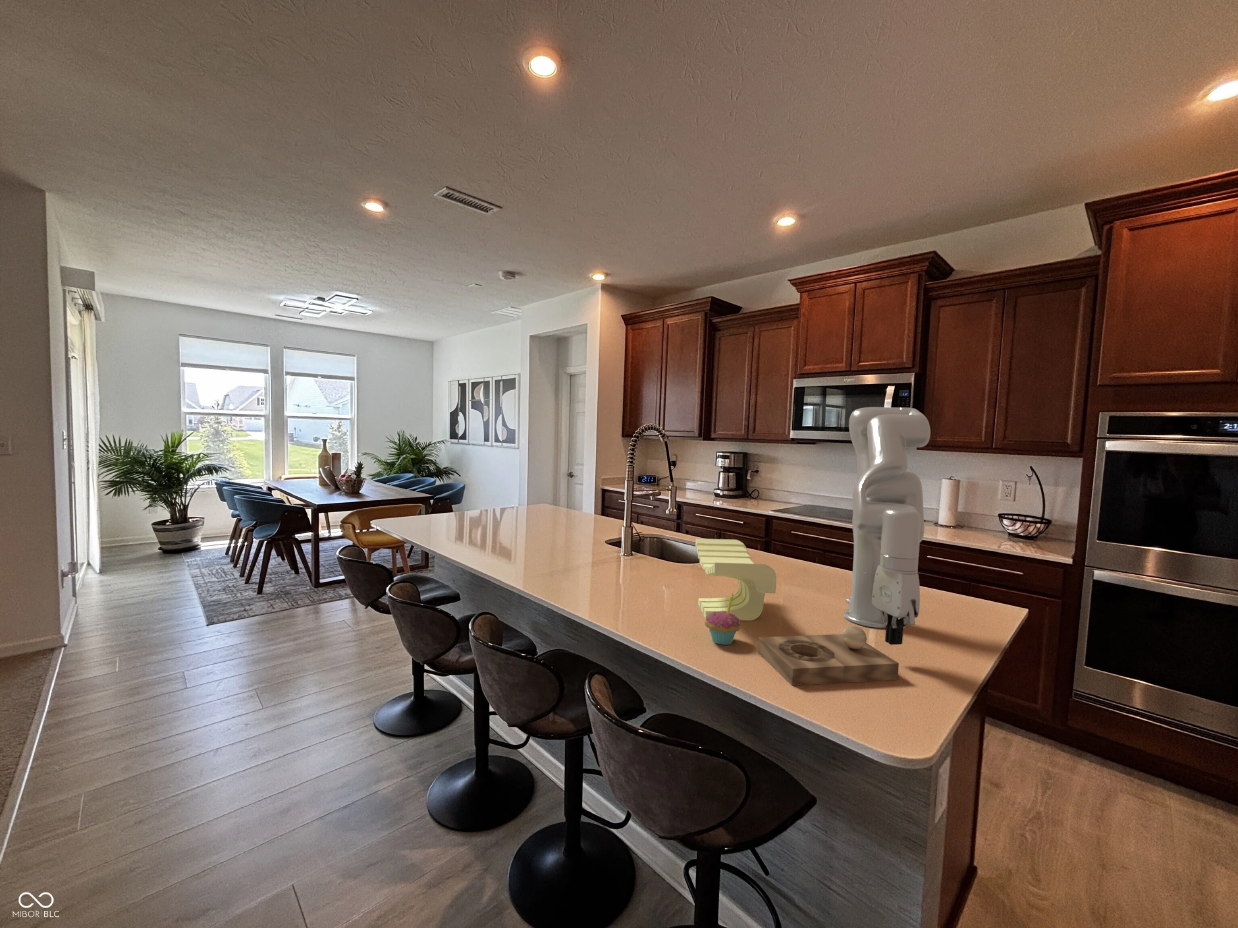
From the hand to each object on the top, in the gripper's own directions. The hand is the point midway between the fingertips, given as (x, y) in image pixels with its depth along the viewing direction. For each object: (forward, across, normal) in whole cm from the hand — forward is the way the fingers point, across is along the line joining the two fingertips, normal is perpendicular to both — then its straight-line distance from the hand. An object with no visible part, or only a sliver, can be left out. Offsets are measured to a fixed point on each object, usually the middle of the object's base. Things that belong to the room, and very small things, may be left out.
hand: (893, 642), depth 116 cm
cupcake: (+5, -15, -35) cm, 38 cm away
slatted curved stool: (+5, -35, -25) cm, 43 cm away
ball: (-2, 0, -10) cm, 10 cm away
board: (+4, 0, -17) cm, 17 cm away
